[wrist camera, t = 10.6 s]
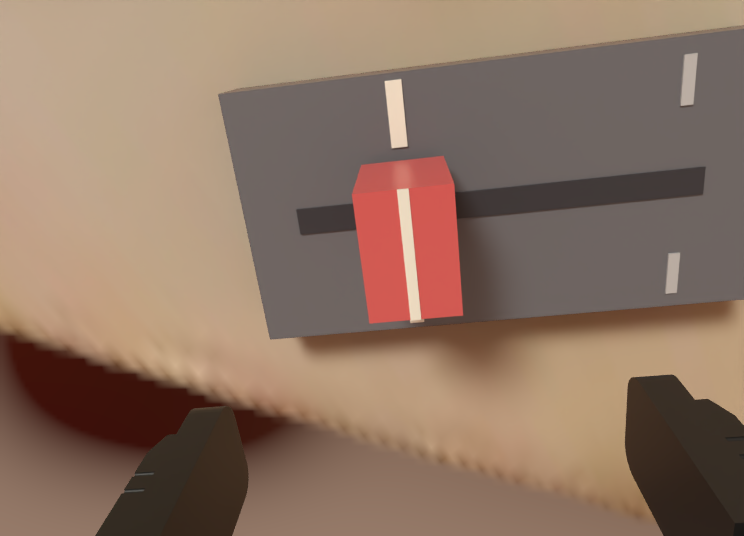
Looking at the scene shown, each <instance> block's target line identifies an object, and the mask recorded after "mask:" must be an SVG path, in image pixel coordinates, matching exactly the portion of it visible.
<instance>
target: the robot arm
mask: <svg viewBox="0 0 744 536" xmlns="http://www.w3.org/2000/svg"><path fill="white" fill-rule="evenodd" d="M625 449H626V456H627V461H628V464H629V468H630V471H631V473H632V475H633V477H634V479H635V481H636V483H637V485H638V487H639V489H640V491H641V493H642V495H643V497H644V499H645V501H646V503H647V504H648V506H649V508H650V510H651V512H652V514H653V516H654V518H655V520H656V522H657V524H658V526H659V528H660V530H661V531H662V533H663V535H664V536H744V425H743V424H742V423H741V422H740V421H739V420H738V419H737V417H736V416H735V415H733V414H732V413H730V412H728V411H727V410H725V409H723V408H722V407H720V406H719V405H717V404H715V403H714V402H712V401H710V400H709V399H701V400H694V398H693V397H692V396H691V395H690V393H689V392H688V391H687V390H686V388H685V387H684V386H683V385H682V383H681V382H680V381H679V380H678V378H677V377H676V376H674V375H660V376H646V377H633V378H631V379H630V380H629V383H628V392H627V412H626V432H625ZM247 488H248V466H247V462H246V459H245V454H244V450H243V446H242V443H241V439H240V435H239V431H238V428H237V423H236V420H235V416H234V413H233V411H232V409H231V408H230V407H229V406H223V407H210V408H196V409H192V410H191V411H190V412H189V414H188V416H187V417H186V419H185V421H184V422H183V424H182V426H181V428H180V429H179V431H178V433H177V434H176V435H167V436H166V437H165V438H164V439H163V440H161V441H160V442H159V443H158V444H157V445H156V446H155V447H153V448H152V449H151V450H150V451H149V452H148V453H147V454H146V456H145V457H144V459H143V461H142V462H141V464H140V465H139V467H138V468H137V470H136V472H135V477H132V478H131V480H130V481H129V483H128V484H127V486H126V488H125V489H124V490H125V492H124V494H121V496H120V497H119V499H118V500H117V502H116V504H115V505H114V507H113V508H112V510H111V512H110V513H109V515H108V516H107V518H106V519H105V521H104V523H103V525H102V526H101V528H100V529H99V531H98V532H97V534H96V536H232V534H233V532H234V529H235V526H236V523H237V520H238V517H239V514H240V511H241V509H242V506H243V503H244V500H245V497H246V493H247Z"/></svg>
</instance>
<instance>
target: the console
mask: <svg viewBox="0 0 744 536" xmlns="http://www.w3.org/2000/svg"><path fill="white" fill-rule="evenodd" d="M218 96H219V101H220V105H221V110H222V115H223V120H224V124H225V129H226V134H227V138H228V143H229V148H230V153H231V157H232V162H233V167H234V171H235V176H236V181H237V186H238V190H239V195H240V200H241V204H242V209H243V214H244V219H245V223H246V228H247V233H248V237H249V242H250V247H251V252H252V256H253V261H254V266H255V270H256V275H257V280H258V285H259V289H260V294H261V299H262V303H263V308H264V313H265V318H266V322H267V327H268V332H269V336H270V339H282V338H294V337H305V336H317V335H329V334H341V333H353V332H364V331H376V330H388V329H400V328H412V327H423V326H435V325H447V324H459V323H471V322H483V321H494V320H506V319H518V318H530V317H542V316H553V315H565V314H577V313H589V312H601V311H612V310H624V309H636V308H648V307H660V306H671V305H683V304H695V303H707V302H719V301H731V300H742V299H744V26H735V27H727V28H719V29H711V30H703V31H695V32H687V33H679V34H671V35H663V36H655V37H647V38H639V39H631V40H624V41H616V42H608V43H600V44H592V45H584V46H576V47H568V48H560V49H552V50H544V51H536V52H528V53H520V54H512V55H504V56H496V57H488V58H480V59H472V60H464V61H456V62H448V63H440V64H432V65H424V66H416V67H408V68H400V69H392V70H384V71H376V72H368V73H360V74H352V75H344V76H336V77H328V78H320V79H312V80H304V81H296V82H288V83H280V84H272V85H264V86H256V87H248V88H240V89H235V90H231V91H228V92H224V93H221V94H218ZM437 156H444V158H445V161H446V163H447V166H448V169H449V171H450V174H451V176H452V179H453V182H454V187H455V202H456V217H457V232H458V247H459V262H460V276H461V291H462V306H463V316H452V317H440V318H428V319H421V320H412V321H411V320H405V321H393V322H382V323H370V324H369V316H368V309H367V302H366V294H365V287H364V280H363V272H362V265H361V258H360V250H359V243H358V236H357V228H356V221H355V214H354V206H353V199H352V192H353V189H354V186H355V183H356V180H357V177H358V173H359V170H360V167H361V165H365V164H374V163H383V162H392V161H401V160H410V159H419V158H428V157H437Z"/></svg>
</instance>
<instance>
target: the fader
mask: <svg viewBox="0 0 744 536" xmlns="http://www.w3.org/2000/svg"><path fill="white" fill-rule="evenodd" d="M352 199H353V206H354V214H355V221H356V228H357V236H358V243H359V250H360V258H361V265H362V272H363V280H364V287H365V294H366V302H367V309H368V316H369V324H370V323H382V322H393V321H405V320H411V321H412V320H421V319H428V318H440V317H452V316H463V306H462V291H461V276H460V262H459V247H458V232H457V217H456V202H455V187H454V182H453V179H452V176H451V174H450V171H449V169H448V166H447V163H446V161H445V158H444V156H437V157H428V158H419V159H410V160H401V161H392V162H383V163H374V164H365V165H361V167H360V170H359V173H358V177H357V180H356V183H355V186H354V189H353V192H352Z"/></svg>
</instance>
